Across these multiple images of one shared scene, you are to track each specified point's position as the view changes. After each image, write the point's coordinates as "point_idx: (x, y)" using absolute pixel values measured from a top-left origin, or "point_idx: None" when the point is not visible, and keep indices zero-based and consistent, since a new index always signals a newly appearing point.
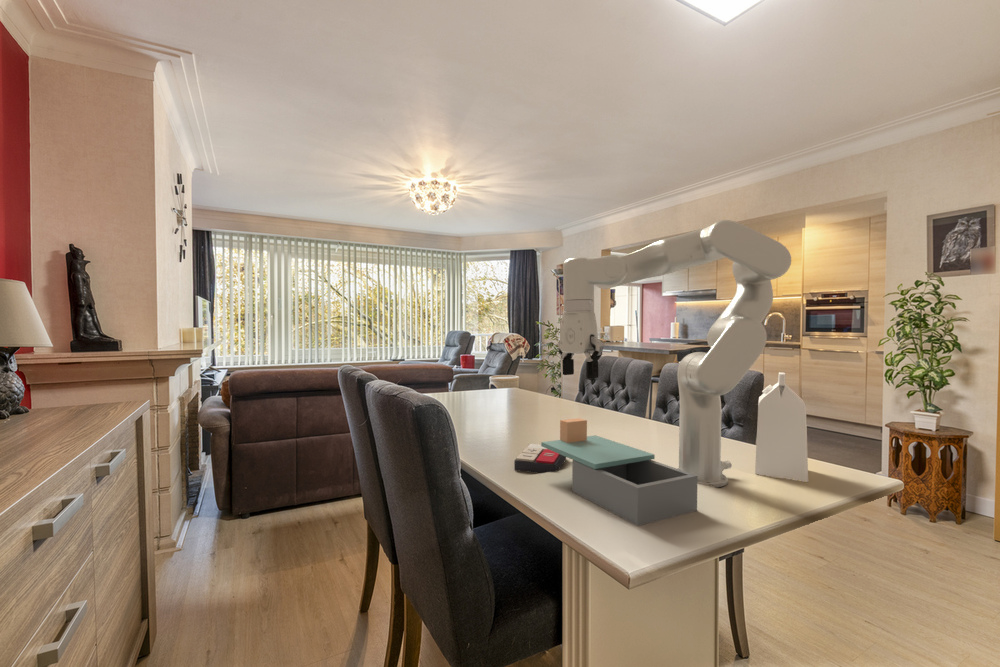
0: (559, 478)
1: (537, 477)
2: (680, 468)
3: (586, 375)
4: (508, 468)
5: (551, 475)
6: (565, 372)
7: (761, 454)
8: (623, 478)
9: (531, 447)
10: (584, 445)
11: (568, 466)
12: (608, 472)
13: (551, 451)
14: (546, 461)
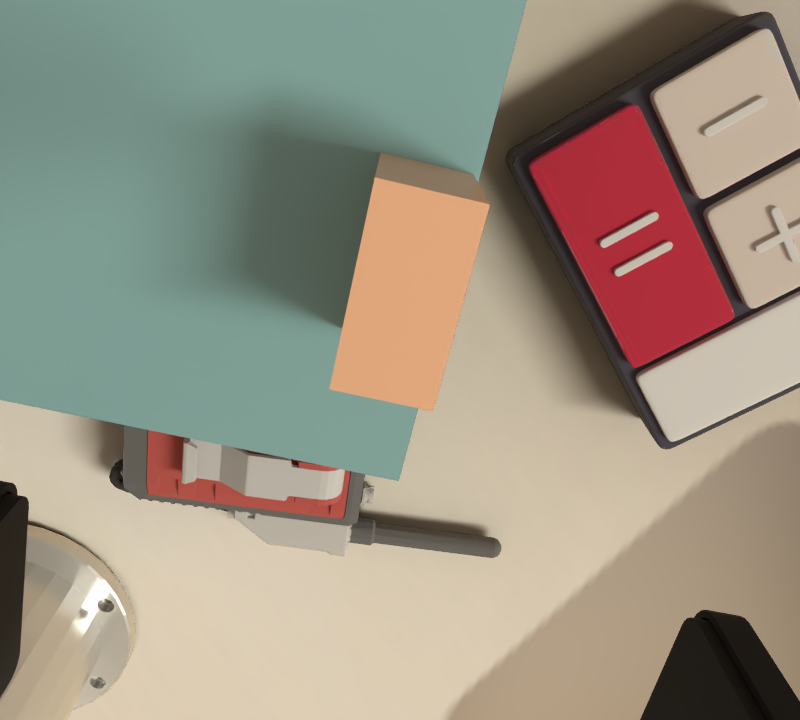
0: None
1: (542, 27)
2: (41, 593)
3: (5, 508)
4: (795, 8)
5: (509, 127)
6: (695, 652)
7: None
8: None
9: None
10: (244, 192)
11: (548, 331)
12: None
13: (666, 307)
14: (569, 140)
